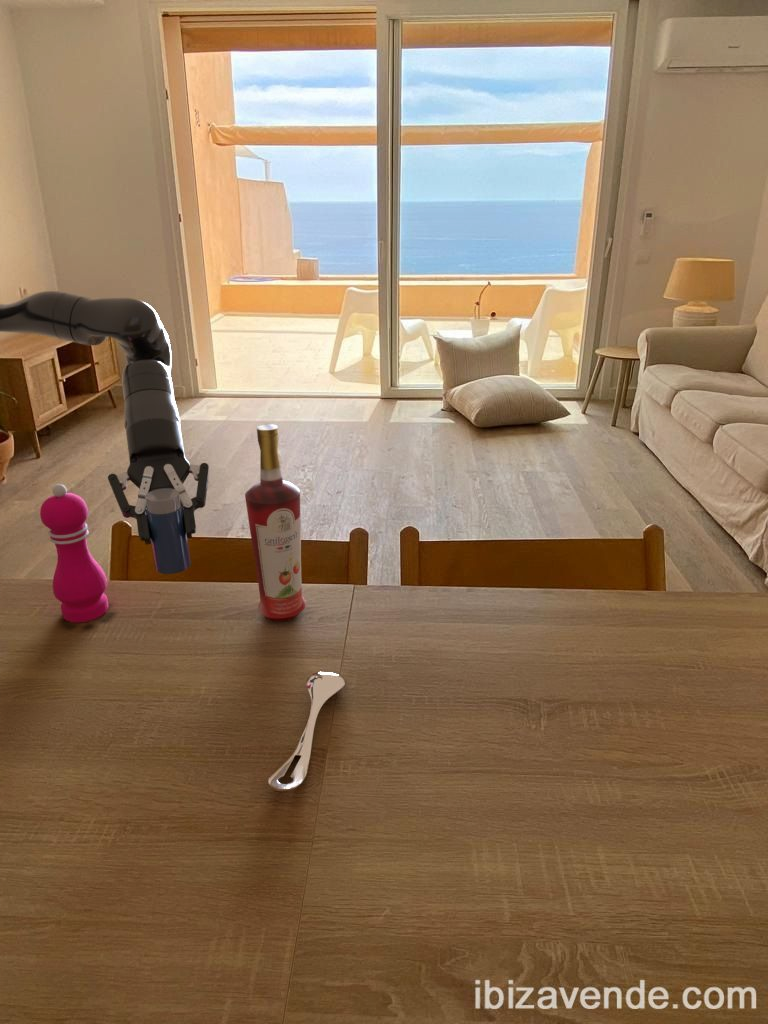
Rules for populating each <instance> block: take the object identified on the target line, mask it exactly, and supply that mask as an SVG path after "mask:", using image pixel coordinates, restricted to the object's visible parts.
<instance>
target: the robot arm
mask: <svg viewBox="0 0 768 1024" xmlns="http://www.w3.org/2000/svg"><path fill="white" fill-rule="evenodd" d="M0 333H18V334H31V335H38V336H45V337H49V338H55V339H59V340H62V341H66V342H67V341H68V342H71V343H75V344H81V345H84V346H91V347H92V346H99V345H101V344H103V343H104V342H105V341H106V339H108V338H111V339H114V340H116V341H117V343H118V345H119V346H120V348H121V349H122V351H123V353H124V357H125V361H126V365H125V367H124V368H123V370H122V373H121V386H122V387H121V388H122V394H123V403H124V412H123V413H124V414H123V416H124V429H125V434H126V435H125V436H126V443H127V450H128V459H129V460H128V461H129V465H128V467H127V470H126V471H125V472H122V473H119V474H116V473H110V474H109V475H108V476H107V480H108V483H109V485H110V487H111V490H112V494H113V495H114V497H115V501H116V503H117V504H118V507H119V509H120V512H121V515H122V517H124V518H125V519H129V518H133V519H135V520H136V527H137V533H138V534H137V535H138V537H139V539H140V541H141V542H144V544H145V545H146V546H147V545H152V544H151V538H150V532H149V526H148V520H147V514H146V509H147V505H146V499H145V496H146V494H147V493H149V492H151V491H153V490H157V489H163V488H171V489H176V490H177V491H179V496H180V503H181V504H182V506H183V514H184V521H185V528H186V535H187V540H188V539H192V538H193V535H194V534H196V533H197V525H196V519H195V511H196V510H198V509H202V508H203V509H204V508H205V506H206V501H207V494H208V486H209V479H210V478H209V477H210V467H209V463H207V462H202V463H201V464H200V465H198V464H191V463H190V462H189V461H188V460H187V458H186V454H185V448H184V441H183V435H182V428H181V418H180V414H179V410H178V407H177V404H176V400H175V393H174V386H173V381H172V377H171V376H172V375H171V371H172V349H171V344H170V343H171V342H170V339H169V335H168V333H167V331H166V329H165V328H164V325H163V323H162V321H161V320H160V317H159V315H158V313H157V312H156V310H155V309H154V308H153V307H152V306H151V305H150V304H149V303H146V302H144V301H142V300H139V299H136V298H132V297H103V298H91V297H86V296H83V295H80V294H79V295H78V294H74V293H69V292H65V291H59V290H43V291H39V292H35V293H32V294H31V295H28V296H25V297H24V298H21V299H19V300H17V301H14V302H11V303H0ZM190 474H191V475H192V476H193V479H194V481H195V482H197V486H196V495H195V496H194V497H190V496H189V494H188V493H187V490H186V487H185V485H184V483H185V481H186V480H187V478H188V476H189V475H190ZM129 481H130V482H131V483H133V484H134V485H135V486H136V487H137V488H138V489H139V490H138V493H137V499H136V503H135V505H133V504H132V505H131V504H130V503H129V501H128V499H127V497H126V494H125V490H126V489H127V487H128V482H129Z"/></svg>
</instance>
